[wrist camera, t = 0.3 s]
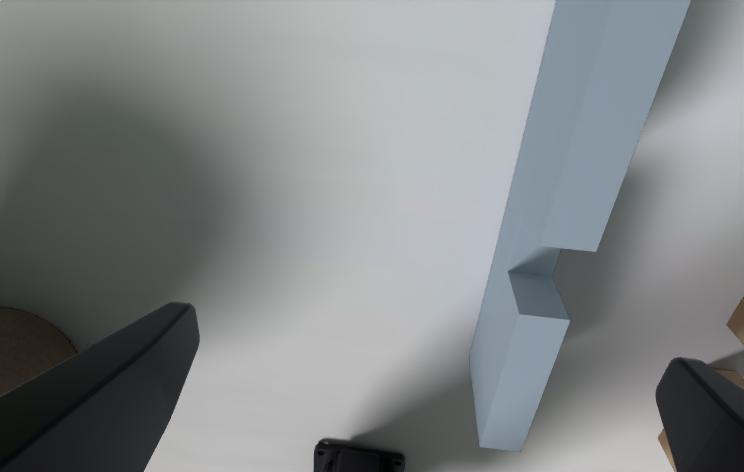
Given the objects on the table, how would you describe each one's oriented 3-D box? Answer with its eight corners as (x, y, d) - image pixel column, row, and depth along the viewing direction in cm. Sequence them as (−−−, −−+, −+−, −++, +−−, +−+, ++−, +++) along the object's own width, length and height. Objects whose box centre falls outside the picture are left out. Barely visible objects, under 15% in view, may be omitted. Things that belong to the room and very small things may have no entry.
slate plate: (502, 361, 28) (520, 452, 22) (468, 357, 28) (479, 446, 23) (615, -19, 18) (695, -13, 12) (562, -23, 18) (619, -19, 12)
